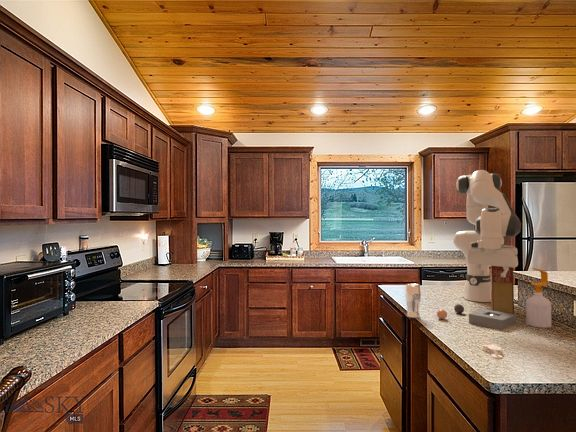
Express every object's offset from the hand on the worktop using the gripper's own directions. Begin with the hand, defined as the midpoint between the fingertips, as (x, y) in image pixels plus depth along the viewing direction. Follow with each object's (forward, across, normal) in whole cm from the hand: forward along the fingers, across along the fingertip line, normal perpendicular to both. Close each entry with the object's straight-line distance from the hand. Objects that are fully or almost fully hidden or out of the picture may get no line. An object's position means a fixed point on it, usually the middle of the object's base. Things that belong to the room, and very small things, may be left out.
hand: (491, 275), depth 168 cm
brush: (+21, -16, +38) cm, 46 cm away
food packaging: (+21, +3, -18) cm, 28 cm away
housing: (+21, 0, 0) cm, 21 cm away
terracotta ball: (+21, +18, +10) cm, 29 cm away
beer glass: (+21, +29, +16) cm, 39 cm away
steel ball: (+21, 0, +1) cm, 21 cm away
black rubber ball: (+21, +18, -6) cm, 28 cm away
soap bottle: (+21, -14, -12) cm, 28 cm away
